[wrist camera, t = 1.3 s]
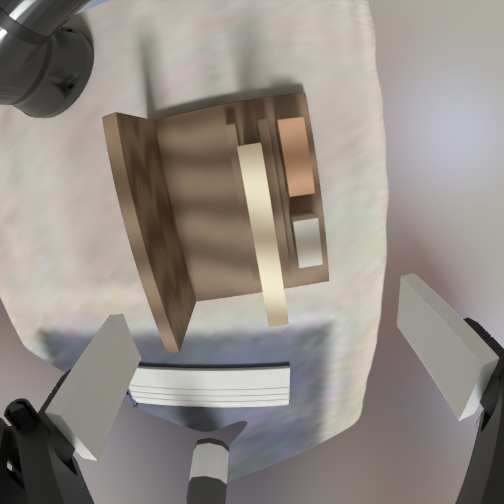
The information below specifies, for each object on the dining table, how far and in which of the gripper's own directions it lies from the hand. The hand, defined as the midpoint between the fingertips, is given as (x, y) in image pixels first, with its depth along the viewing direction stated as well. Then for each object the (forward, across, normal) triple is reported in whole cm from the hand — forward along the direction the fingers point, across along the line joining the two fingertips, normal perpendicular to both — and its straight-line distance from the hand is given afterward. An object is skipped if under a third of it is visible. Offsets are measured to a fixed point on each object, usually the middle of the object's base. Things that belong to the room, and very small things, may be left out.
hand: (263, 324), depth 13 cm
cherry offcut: (+27, +6, +6) cm, 28 cm away
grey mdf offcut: (+27, +6, -5) cm, 28 cm away
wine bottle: (+29, -18, -53) cm, 63 cm away
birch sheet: (+27, +1, +1) cm, 27 cm away
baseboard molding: (+29, -14, -33) cm, 46 cm away
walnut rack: (+29, -2, +1) cm, 29 cm away
